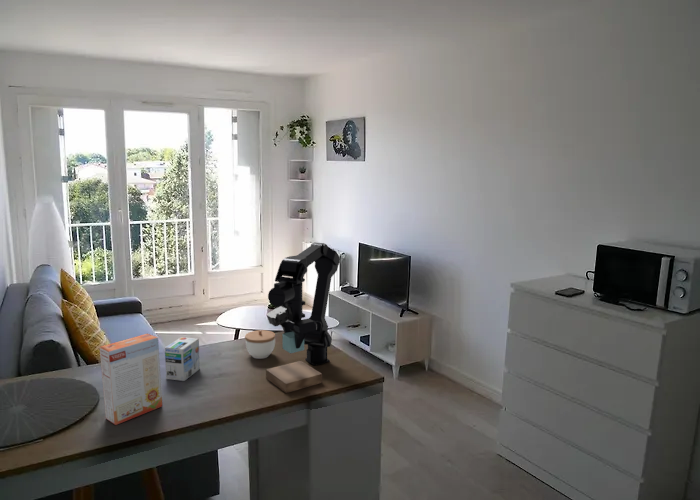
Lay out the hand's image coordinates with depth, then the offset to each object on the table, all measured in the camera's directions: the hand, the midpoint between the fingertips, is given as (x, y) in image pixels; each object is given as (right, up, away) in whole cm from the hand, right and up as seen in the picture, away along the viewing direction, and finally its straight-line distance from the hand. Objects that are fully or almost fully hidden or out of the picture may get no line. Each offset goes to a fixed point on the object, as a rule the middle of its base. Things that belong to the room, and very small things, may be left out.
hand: (293, 345), depth 163 cm
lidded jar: (-14, -8, +22) cm, 28 cm away
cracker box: (-42, -15, -20) cm, 49 cm away
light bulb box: (-37, -11, +6) cm, 39 cm away
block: (0, -1, 0) cm, 1 cm away
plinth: (0, -12, +2) cm, 12 cm away
